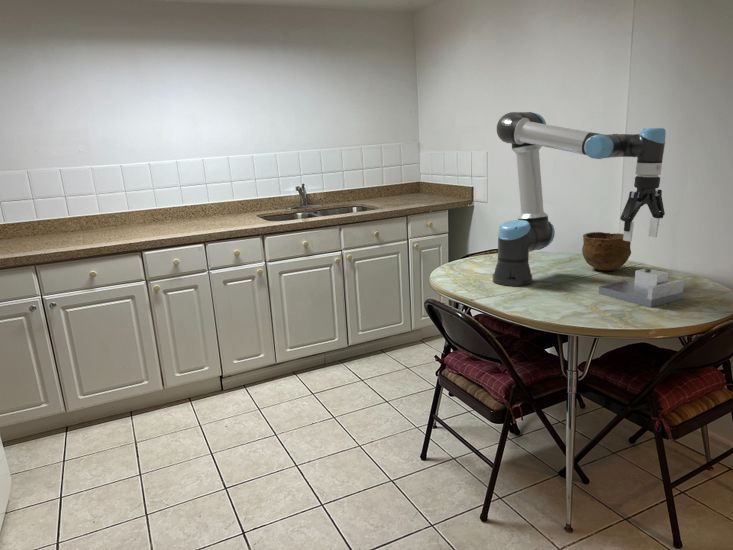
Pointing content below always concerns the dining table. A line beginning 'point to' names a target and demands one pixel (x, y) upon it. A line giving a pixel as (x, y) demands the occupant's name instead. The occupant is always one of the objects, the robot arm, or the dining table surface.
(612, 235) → the bowl
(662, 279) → the grey block
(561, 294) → the dining table surface
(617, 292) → the ledge
